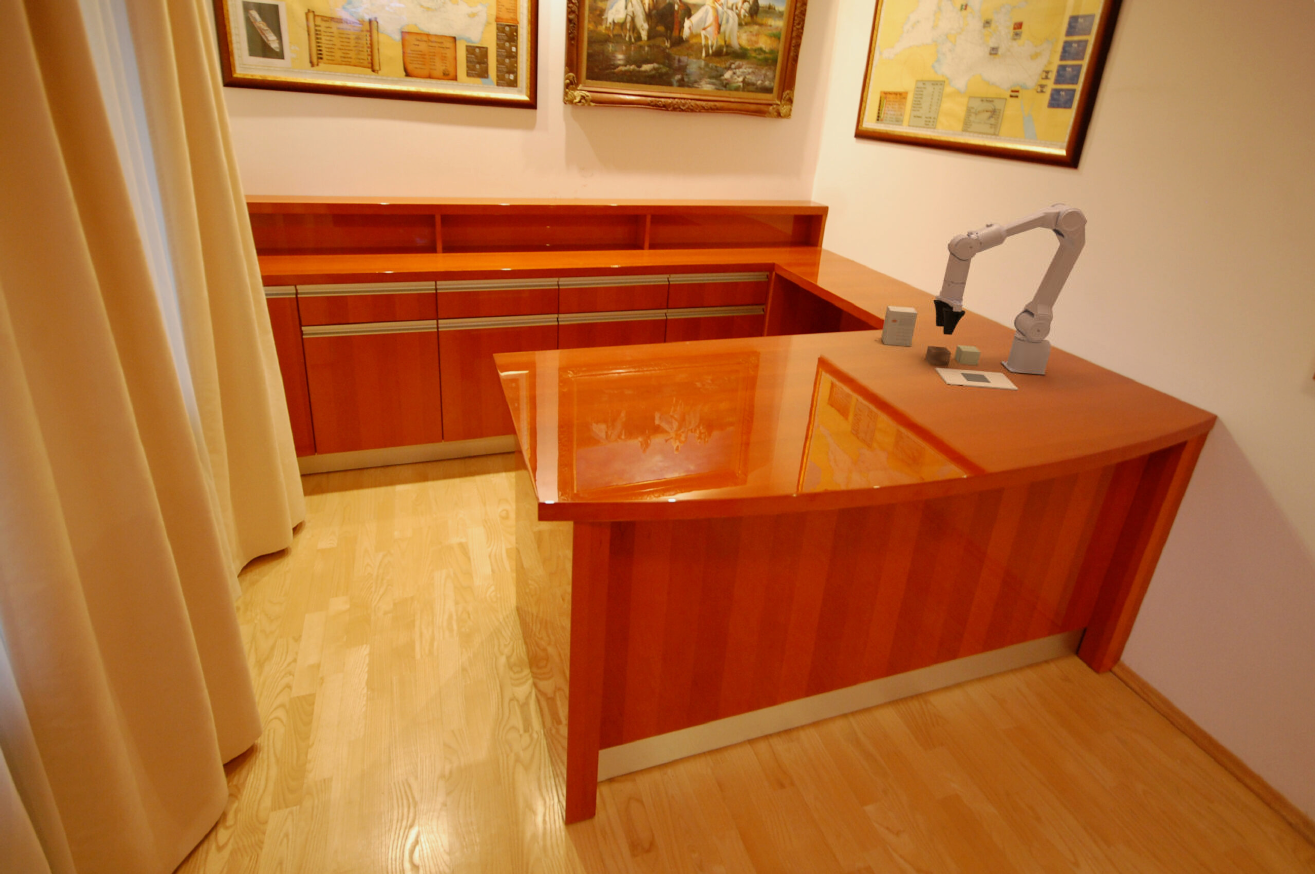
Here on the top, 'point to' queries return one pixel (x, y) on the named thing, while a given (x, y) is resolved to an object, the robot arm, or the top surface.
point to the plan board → (976, 378)
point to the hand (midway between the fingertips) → (943, 330)
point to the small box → (899, 326)
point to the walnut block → (938, 356)
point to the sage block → (967, 355)
